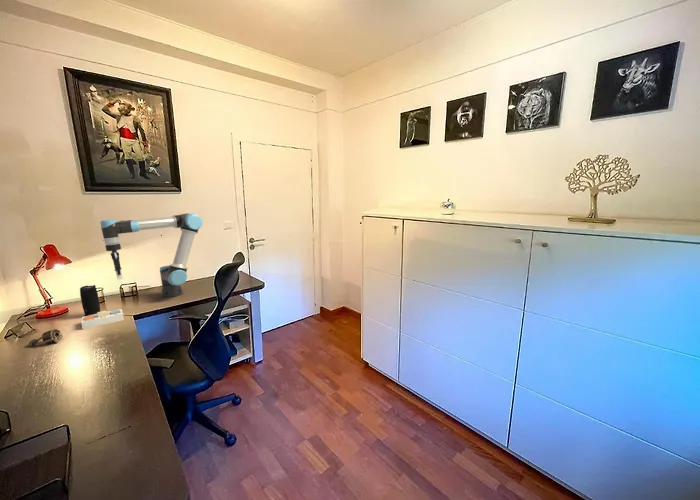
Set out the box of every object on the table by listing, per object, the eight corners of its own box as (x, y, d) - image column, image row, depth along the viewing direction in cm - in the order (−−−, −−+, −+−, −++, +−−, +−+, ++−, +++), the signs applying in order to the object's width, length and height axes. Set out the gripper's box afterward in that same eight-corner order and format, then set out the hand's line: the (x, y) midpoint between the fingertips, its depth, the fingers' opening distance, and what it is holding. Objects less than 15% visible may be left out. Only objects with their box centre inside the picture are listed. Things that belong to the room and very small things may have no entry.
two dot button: (107, 314, 183) (106, 310, 182) (107, 316, 179) (106, 312, 179) (98, 316, 180) (97, 312, 179) (98, 318, 177) (97, 314, 176)
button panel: (122, 314, 191) (121, 308, 190) (123, 319, 182) (122, 313, 181) (83, 323, 179) (81, 316, 178) (82, 329, 170) (81, 322, 169)
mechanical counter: (45, 338, 147) (64, 326, 156) (20, 336, 147) (41, 324, 157) (50, 350, 150) (68, 337, 159) (26, 348, 150) (45, 335, 159)
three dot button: (95, 319, 179) (94, 314, 179) (95, 321, 176) (94, 316, 175) (85, 321, 176) (84, 316, 176) (85, 323, 173) (84, 318, 172)
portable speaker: (89, 318, 187) (84, 289, 183) (81, 316, 190) (75, 287, 187) (104, 313, 194) (99, 285, 191) (96, 311, 198) (90, 284, 194)
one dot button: (119, 314, 187) (119, 309, 186) (120, 315, 183) (119, 311, 183) (111, 315, 184) (110, 311, 183) (111, 317, 181) (110, 313, 180)
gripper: (104, 244, 191) (111, 279, 196) (106, 246, 182) (114, 282, 186) (118, 242, 196) (125, 276, 201) (121, 244, 187) (128, 279, 191)
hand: (120, 279), depth 193 cm, fingers closed
